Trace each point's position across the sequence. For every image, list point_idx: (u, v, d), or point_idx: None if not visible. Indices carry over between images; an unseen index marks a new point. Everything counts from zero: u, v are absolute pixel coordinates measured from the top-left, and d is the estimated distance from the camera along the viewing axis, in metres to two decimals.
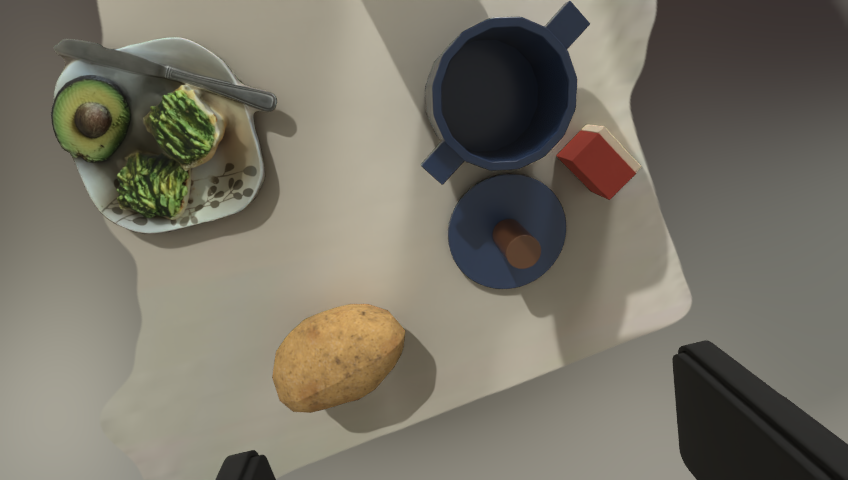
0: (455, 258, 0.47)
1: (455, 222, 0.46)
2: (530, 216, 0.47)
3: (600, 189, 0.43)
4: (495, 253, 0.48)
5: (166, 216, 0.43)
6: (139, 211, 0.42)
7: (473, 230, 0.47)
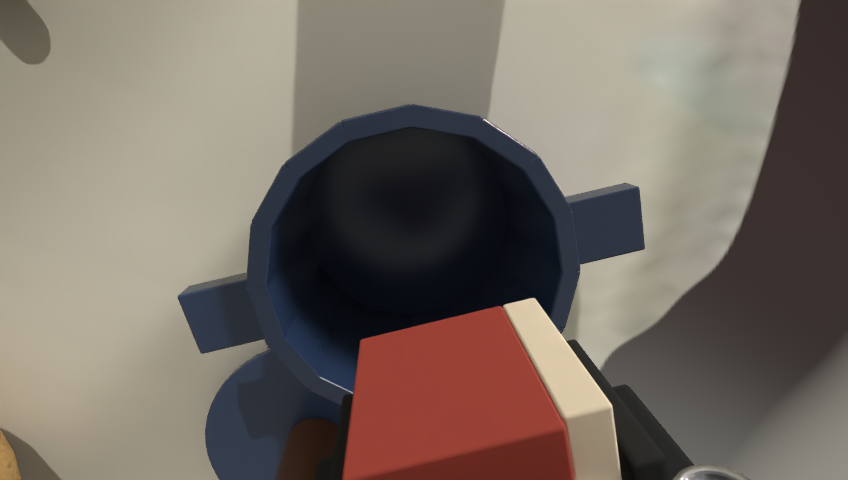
0: (208, 431, 0.25)
1: (242, 379, 0.25)
2: None
3: None
4: (279, 458, 0.26)
5: None
6: None
7: (264, 408, 0.25)
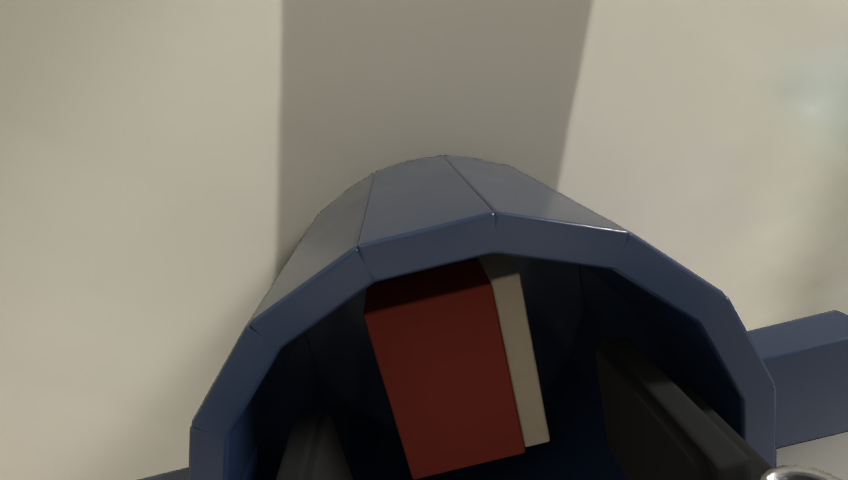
0: None
1: None
2: None
3: (403, 440, 0.13)
4: None
5: None
6: None
7: None
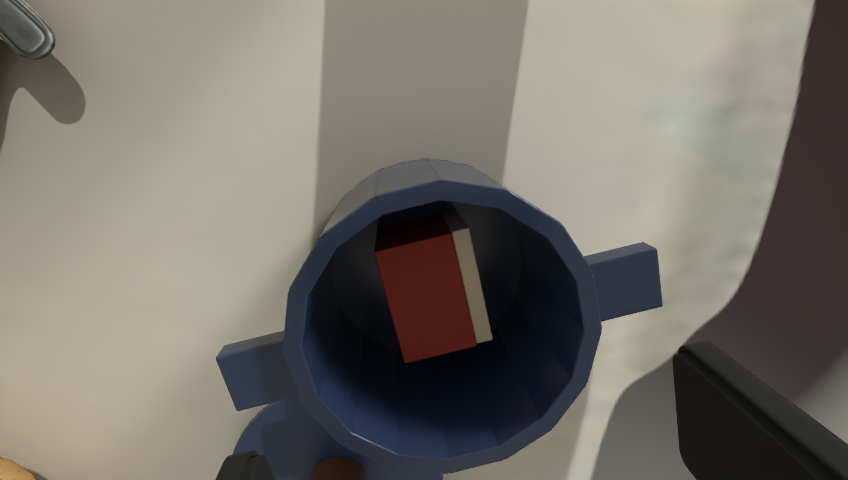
0: None
1: (266, 421, 0.25)
2: (387, 474, 0.27)
3: (399, 335, 0.21)
4: None
5: None
6: None
7: (287, 448, 0.26)
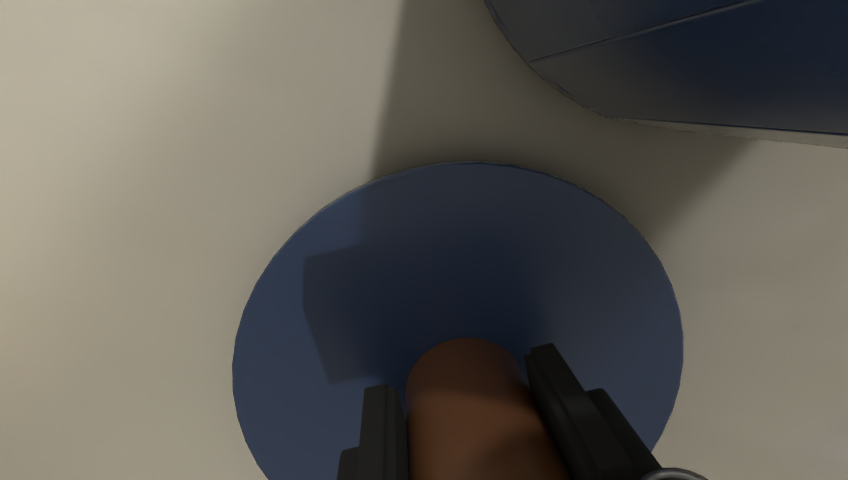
0: (239, 367, 0.12)
1: (315, 246, 0.11)
2: None
3: None
4: None
5: None
6: None
7: (360, 314, 0.12)
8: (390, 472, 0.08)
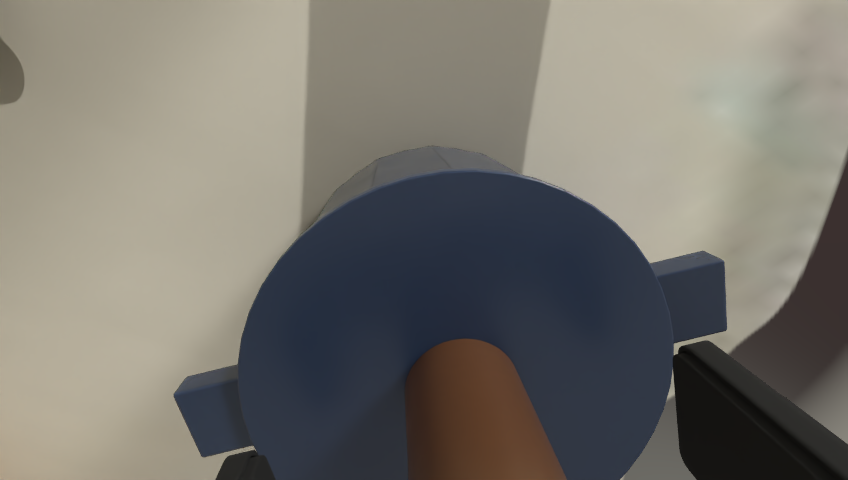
0: (244, 367, 0.12)
1: (318, 250, 0.11)
2: (562, 379, 0.13)
3: None
4: (385, 424, 0.13)
5: None
6: None
7: (361, 316, 0.12)
8: None
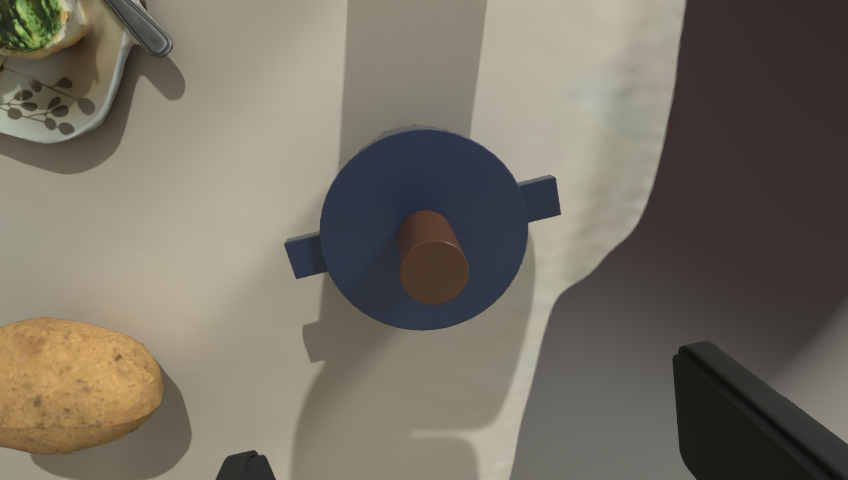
0: (323, 223, 0.26)
1: (358, 166, 0.25)
2: (473, 232, 0.27)
3: None
4: (388, 254, 0.27)
5: None
6: None
7: (377, 198, 0.26)
8: None
